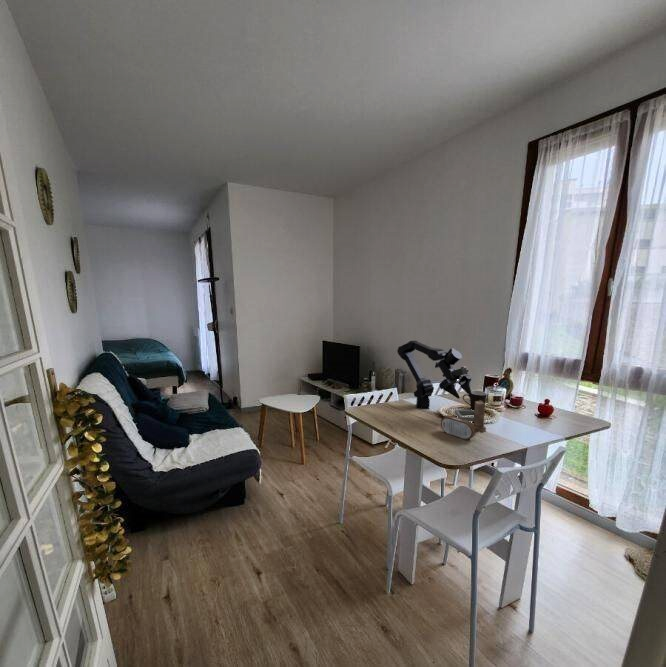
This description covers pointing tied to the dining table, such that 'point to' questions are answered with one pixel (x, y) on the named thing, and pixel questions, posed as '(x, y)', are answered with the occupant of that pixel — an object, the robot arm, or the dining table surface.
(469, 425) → the tin
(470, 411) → the box
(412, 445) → the dining table surface
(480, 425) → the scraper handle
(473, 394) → the coffee mug
